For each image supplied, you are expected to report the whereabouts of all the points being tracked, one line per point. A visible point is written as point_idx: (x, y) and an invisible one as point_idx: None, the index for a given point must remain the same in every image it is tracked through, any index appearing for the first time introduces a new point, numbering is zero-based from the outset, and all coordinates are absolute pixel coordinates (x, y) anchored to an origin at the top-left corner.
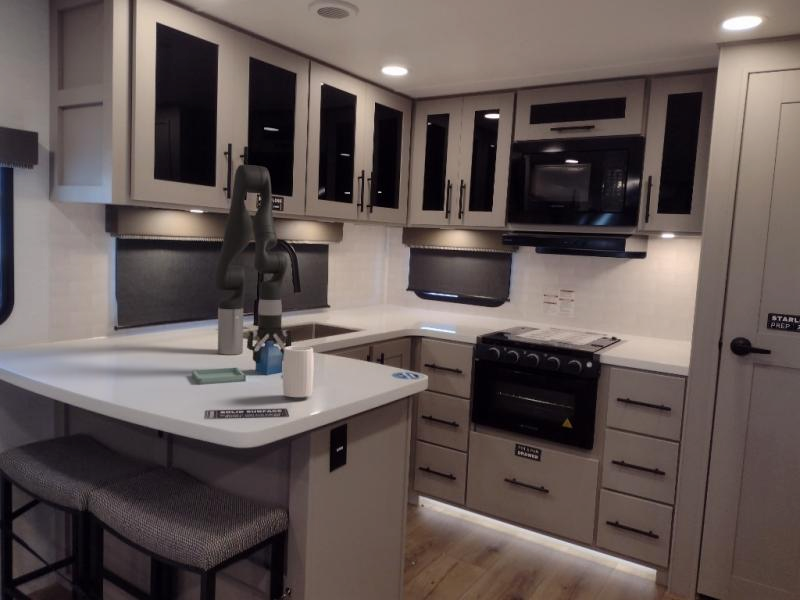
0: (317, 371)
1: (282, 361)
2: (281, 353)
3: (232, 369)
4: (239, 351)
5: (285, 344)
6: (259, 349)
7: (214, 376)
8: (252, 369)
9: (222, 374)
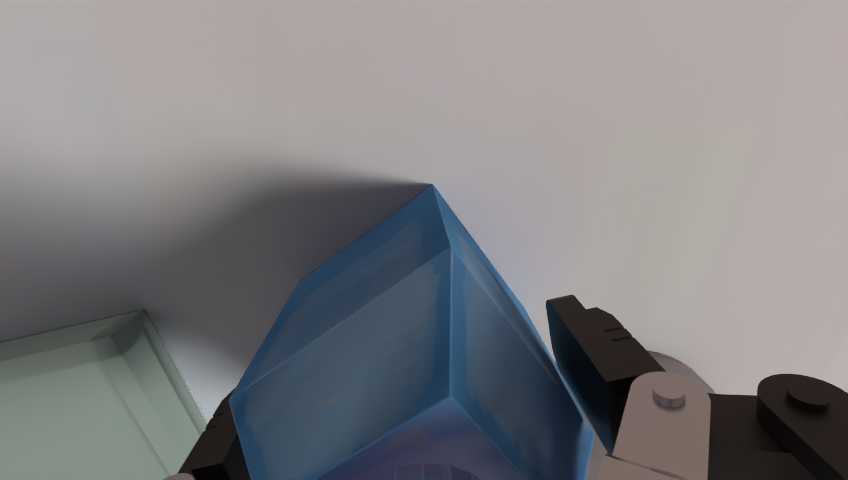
0: (819, 285)
1: (558, 371)
2: (583, 447)
3: (83, 359)
4: None
5: (758, 464)
6: (259, 470)
7: (9, 471)
8: (257, 170)
9: (46, 419)
